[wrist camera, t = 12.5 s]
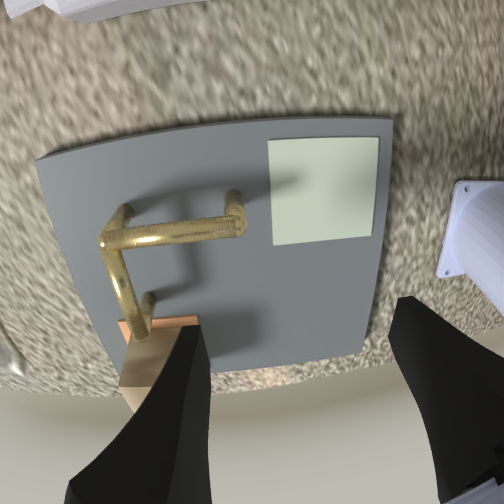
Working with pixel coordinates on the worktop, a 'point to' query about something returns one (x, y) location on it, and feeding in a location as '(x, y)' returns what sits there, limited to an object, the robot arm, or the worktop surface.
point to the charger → (89, 7)
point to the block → (145, 364)
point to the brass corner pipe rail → (159, 234)
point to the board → (240, 248)
